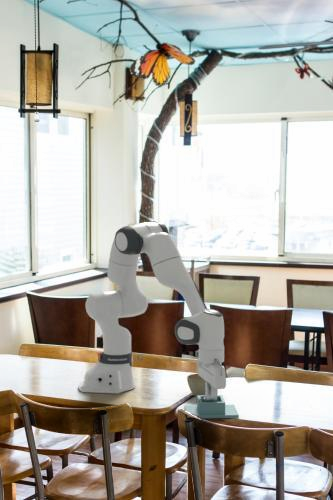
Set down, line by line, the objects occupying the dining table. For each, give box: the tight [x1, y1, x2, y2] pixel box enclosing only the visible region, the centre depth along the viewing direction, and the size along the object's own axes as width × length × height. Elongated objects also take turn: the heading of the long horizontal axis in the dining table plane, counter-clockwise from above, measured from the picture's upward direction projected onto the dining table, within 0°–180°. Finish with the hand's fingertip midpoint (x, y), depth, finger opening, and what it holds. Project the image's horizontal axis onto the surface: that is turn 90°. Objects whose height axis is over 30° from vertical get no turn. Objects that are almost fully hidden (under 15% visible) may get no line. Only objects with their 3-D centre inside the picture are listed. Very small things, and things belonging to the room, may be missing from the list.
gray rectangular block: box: [203, 381, 219, 402], centre depth 250 cm, size 4×4×8 cm
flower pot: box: [186, 373, 205, 397], centre depth 273 cm, size 10×10×7 cm
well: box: [184, 394, 239, 419], centre depth 251 cm, size 18×12×5 cm, turn 92°
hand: (211, 394), depth 249 cm, fingers closed on gray rectangular block
